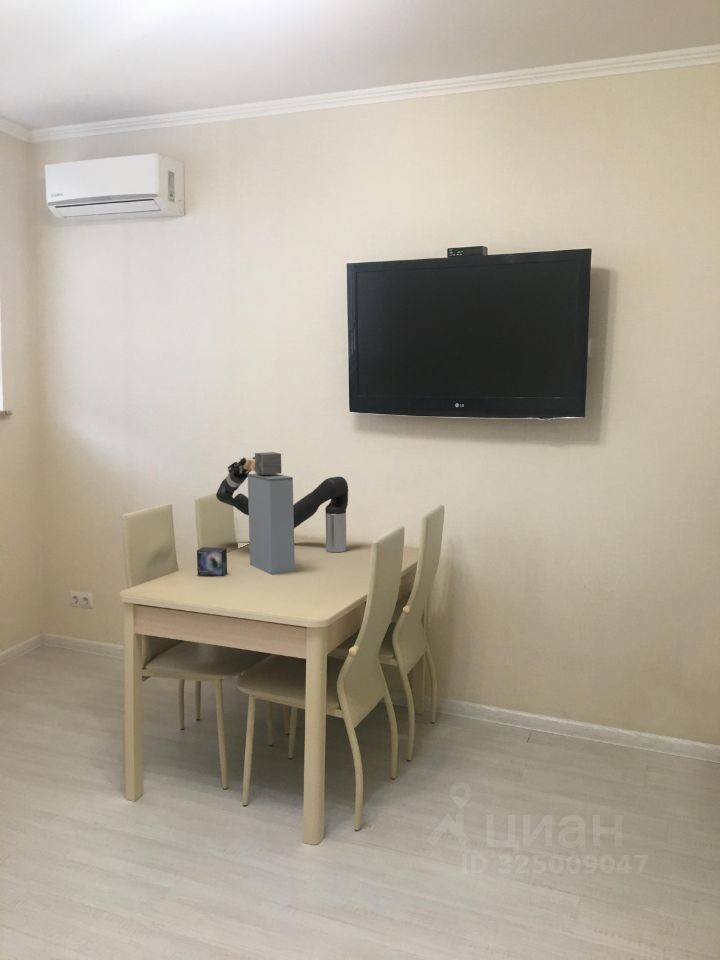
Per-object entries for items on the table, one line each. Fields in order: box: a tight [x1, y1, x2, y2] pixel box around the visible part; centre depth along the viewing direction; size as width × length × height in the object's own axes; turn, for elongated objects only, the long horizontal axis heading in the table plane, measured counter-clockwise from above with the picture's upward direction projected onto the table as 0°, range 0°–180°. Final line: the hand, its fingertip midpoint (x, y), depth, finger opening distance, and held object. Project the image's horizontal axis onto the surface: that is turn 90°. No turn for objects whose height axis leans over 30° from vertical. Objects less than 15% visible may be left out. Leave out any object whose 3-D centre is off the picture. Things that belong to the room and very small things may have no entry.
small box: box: [196, 546, 228, 577], centre depth 322 cm, size 11×6×10 cm, turn 80°
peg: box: [239, 451, 282, 475], centre depth 338 cm, size 29×8×8 cm, turn 30°
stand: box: [247, 473, 296, 576], centre depth 331 cm, size 22×10×38 cm, turn 30°
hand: (249, 459), depth 345 cm, fingers closed on peg, 4 cm apart
